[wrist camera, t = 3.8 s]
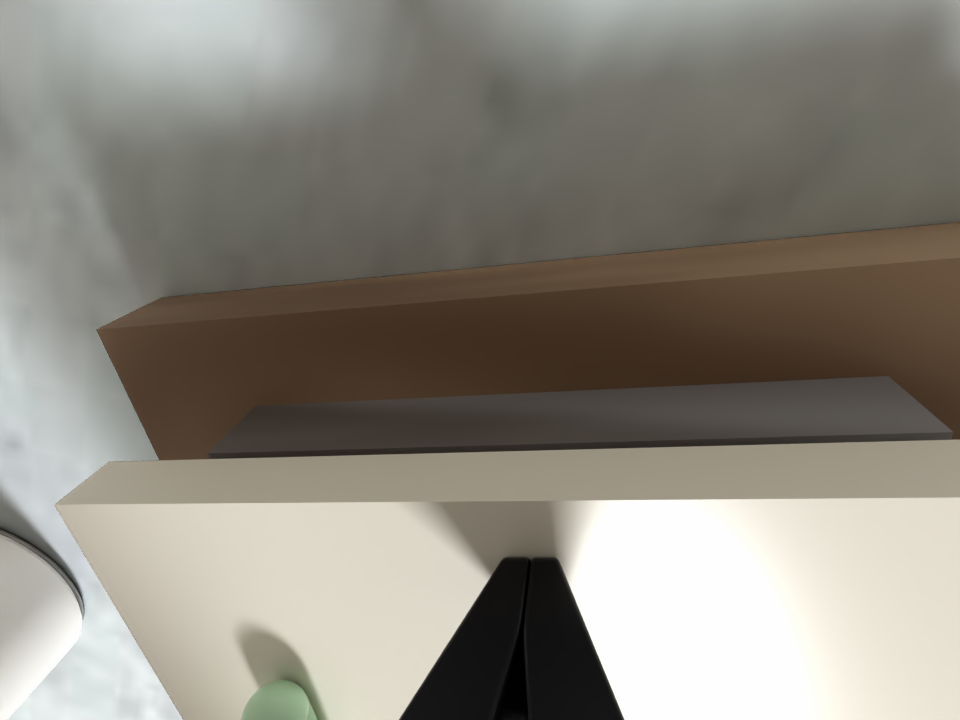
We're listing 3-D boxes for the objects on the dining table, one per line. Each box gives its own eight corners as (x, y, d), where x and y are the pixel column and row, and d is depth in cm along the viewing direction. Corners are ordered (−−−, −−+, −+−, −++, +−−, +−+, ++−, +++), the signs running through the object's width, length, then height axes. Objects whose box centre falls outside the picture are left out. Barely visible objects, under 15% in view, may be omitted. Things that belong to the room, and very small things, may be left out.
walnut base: (864, 781, 17) (936, 944, 14) (344, 737, 20) (301, 860, 17) (1039, 214, 9) (1295, 277, 6) (161, 297, 13) (21, 366, 9)
